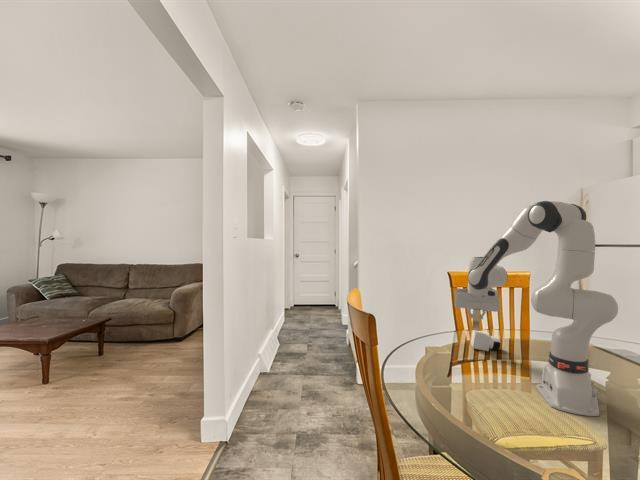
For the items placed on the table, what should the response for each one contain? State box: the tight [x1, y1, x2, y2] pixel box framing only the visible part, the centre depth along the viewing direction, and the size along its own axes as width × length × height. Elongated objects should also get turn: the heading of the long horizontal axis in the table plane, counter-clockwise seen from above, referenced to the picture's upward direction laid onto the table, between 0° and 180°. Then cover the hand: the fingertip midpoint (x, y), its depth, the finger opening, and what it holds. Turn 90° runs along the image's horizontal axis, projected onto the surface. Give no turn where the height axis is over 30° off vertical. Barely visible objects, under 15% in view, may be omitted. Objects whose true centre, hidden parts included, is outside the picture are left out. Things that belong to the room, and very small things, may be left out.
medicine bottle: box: [470, 330, 501, 352], centre depth 178 cm, size 7×7×12 cm
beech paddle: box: [471, 309, 481, 331], centre depth 178 cm, size 6×3×16 cm, turn 157°
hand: (476, 318), depth 178 cm, fingers closed on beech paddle, 3 cm apart
